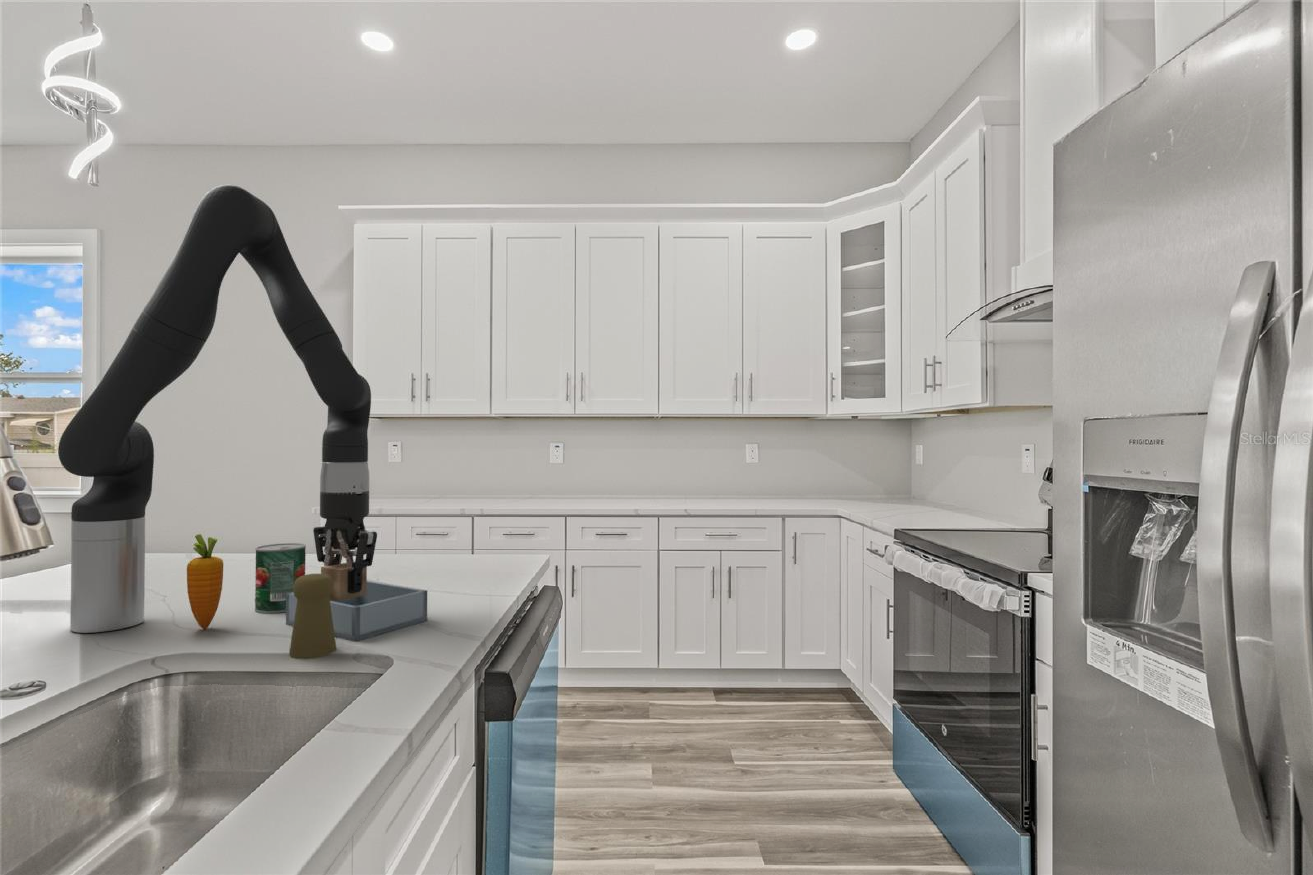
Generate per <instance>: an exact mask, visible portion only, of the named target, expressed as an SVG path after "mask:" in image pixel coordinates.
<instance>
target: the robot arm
mask: <svg viewBox="0 0 1313 875" xmlns="http://www.w3.org/2000/svg"><path fill="white" fill-rule="evenodd" d="M196 206H197V207H196V208H195V211H194V213H193V214H192V218H191V220H190V222H189V225H188V227H187V229H186V231H185V234H184V236H183V239H182V242H181V244H180V245H179V248H178V250H177V252H176V254H175V255H174V258H173V260H172V261H171V263H170V264H169V266H168V267H167V270H166V271H165V273H164V275H163V276H162V278H161V280H160V281H159V284H158V285H157V287H156V288H155V290H154V292H153V294H152V296H151V297H150V299H149V300H148V302H147V303H146V304H145V306H144V307H143V310H142V311H141V313H140V314H139V316H138V318H137V319H136V321H135V323H134V324H133V327H132V328H131V329H130V332H129V333H128V336H127V338H126V340H125V342H124V344H122V346H121V348H120V350H119V351H118V353H117V354H116V356H115V358H114V359H113V361H112V362H111V364H110V365H109V368H108V369H107V370H106V372H105V374H104V375H103V377H102V378H101V380H100V381H99V384H98V385H97V387H96V388H95V389H94V390H93V391H92V393H91V395H90V396H89V397H88V398H87V400H85V402H84V404H83V405H82V406H81V407H80V408H79V410H78V411H77V412H76V414H75V415H74V416H73V418H72V419H71V420H70V422H69V423H68V424H67V426H66V428H65V429H64V431H63V432H62V435H61V436H60V439H59V442H58V448H57V449H58V451H57V453H58V458H59V459H58V460H59V462H60V463H61V464H60V465H61V466H62V467H63V468H64V469H65V470H66V471H67V472H69V473H70V474H72V475H75V476H78V477H85V478H86V477H87V478H93V479H92V486H91V487H90V489H89V490H88V492H86V493H85V494H84V495H83V496H82V497H80V498H77V500H76V501H74V502H73V503H72V506H71V510H70V511H71V512H70V513H71V516H70V519H71V523H70V524H71V531H70V533H71V534H70V535H71V536H70V537H71V542H70V544H71V548H70V552H71V553H70V554H71V555H70V556H71V558H70V562H71V563H70V565H71V566H70V568H71V569H70V617H69V618H70V623H69V624H70V625H69V627H70V631H71V632H73V633H83V634H85V633H86V634H87V633H100V632H101V633H102V632H109V631H116V630H122V629H125V628H126V629H127V628H129V627H133V626H137V625H140V624H141V623H143V622H144V621H145V582H146V581H145V580H146V578H145V577H146V576H145V575H146V573H145V572H146V571H145V570H146V569H145V568H146V561H145V560H146V508H147V505H148V503H149V501H150V499H151V496H152V493H153V492H152V491H153V490H152V489H153V477H154V465H155V464H154V462H155V449H154V441H153V439H152V436H151V434H150V432H149V430H148V429H147V428H146V427H145V426H144V425H143V424H141V423H140V422H139V421H136V420H137V418H138V417H139V415H140V413H142V411H143V409H144V408H145V407H146V406H147V405H148V403H149V402H150V401H151V400H152V399H153V398H155V397H156V396H157V395H158V394H159V393H161V392H162V391H163V390H165V389H166V388H167V387H168V386H169V385H171V383H173V382H175V381H176V380H177V379H178V378H179V377H180V376H182V375H183V374H184V373H185V372H186V371H188V369H190V367H191V366H192V365H193V363H194V362H195V361H196V359H197V358H198V356H199V355H200V353H201V351H202V349H203V347H204V346H205V344H206V342H207V341H208V339H209V337H210V336H211V333H212V330H213V328H214V325H215V322H216V316H217V312H218V311H217V310H218V302H219V296H220V295H219V294H220V291H221V286H222V283H223V280H224V278H225V276H226V274H227V272H228V271H229V269H230V267H231V266H232V264H233V262H234V261H235V260H236V257H237V256H238V254H240V255H241V257H242V258H243V259H244V260H245V261H246V263H248V265H249V266H250V267H251V268H252V270H253V271H254V272H255V274H256V275H257V277H258V278H259V281H260V282H261V283H262V286H263V288H264V289H265V292H266V294H267V297H268V300H269V303H270V305H271V306H270V307H271V308H272V312H273V314H274V316H275V318H276V321H277V323H278V325H279V328H280V329H281V332H282V333H283V334H284V336H285V338H286V340H287V341H288V342H289V344H290V347H292V349H293V351H295V354H296V356H297V357H298V358H299V359H300V360H301V362H302V363H303V364H302V365H303V366H304V369H305V371H306V372H307V375H308V377H309V379H310V381H311V383H312V385H313V387H314V389H315V392H317V393H316V394H317V395H318V397H320V400H321V401H322V402H323V404H325V405H326V406H327V425H326V429H325V430H324V432H323V434H322V442H321V445H322V446H321V468H320V469H321V470H320V475H319V476H320V477H319V479H320V480H319V484H320V485H319V516H320V517H321V518H322V519H324V520H325V523H324V525H323V526H318V527H317V526H316V527H314V528H313V529H312V530H313V531H312V532H313V538H314V544H315V552H316V559H317V561H318V563H323V567H324V566H330V565H336V564H342V561H343V559H345V561H346V562H345V563H347V567H348V570H349V571H348V593H356V592H360V591H361V589H362V570H363V568H365V567H367V568H368V567H371V566H372V565H373V560H374V555H375V551H376V544H377V539H378V534H377V531H374V530H373V531H368V530H367V529H366V527H365V526H366V525H365V524H364V523H365V522H364V519H365V518H366V517H368V516H369V514H370V469H369V439H368V432H369V431H368V429H369V422H370V415H371V408H372V407H371V406H372V391H371V386H370V384H369V382H368V380H367V379H366V378H365V377H364V376H362V375H361V374H359V373H358V371H357V370H356V369H355V366H353V364H352V362H351V361H350V359H349V357H348V356H347V354H346V353H345V351H344V350H343V344H342V342H341V339H340V337H339V336H338V334H337V332H336V331H335V329H334V327H333V326H332V323H331V322H330V321H329V319H328V318H327V316H326V313H325V312H324V311H323V309H322V308H321V306H320V305H319V302H318V301H317V299H316V298H315V296H314V295H313V293H312V291H311V290H310V288H309V286H308V285H307V282H305V279H304V278H303V276H302V274H301V272H300V270H299V268H298V267H297V264H296V261H295V260H294V257H293V255H292V252H291V251H290V248H289V247H288V243H287V242H286V239H285V237H284V234H283V231H282V229H281V227H280V224H279V222H278V219H277V216H276V215H275V213H274V211H273V210H272V208H271V207H270V206H269V205H268V204H266V202H264V201H263V200H262V199H260V198H258V196H255V195H254V194H252V193H251V192H250V191H248V190H247V189H245V188H242V187H240V186H237V185H234V184H221V185H218V186H215V187H213V188H211V189H209V191H207V192H206V193H205V194H204V195H203V197H202V198H201V200H200V201H199V203H198V204H197V205H196ZM365 555H366V556H365ZM354 557H355V560H354Z"/></svg>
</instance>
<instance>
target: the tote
mask: <svg viewBox="0 0 1313 875" xmlns="http://www.w3.org/2000/svg"><path fill="white" fill-rule="evenodd" d="M296 605H297V598H296V597H295V596H294V593H293V592H292V593H287V594H286V612H285V625H287V624H288V625H287V626H291V627H293V625H294V618H295V612H296ZM330 605H331V613H332V620H333V627H334V635H335V638H336V637H337V638H341V639H344V640H348V641H352V642H357V641H360V640H361V641H362V640H364V639H368V638H371V637H375V636H379V635H382V634H385V633H389V632H392V631H395V630H398V629H399V630H400V629H403V628H407V627H409V626H410V627H411V626H413V625H416V624H420V623H423V622H427V621H428V590H427V589H426V590H425V589H420V588H414V587H408V586H402V585H397V584H391V583H385V582H379V581H373V580H368V579H367V594H366V595H364V596H359V597H355V598H350V599H346V600H342V601H338V600H333V599H330Z"/></svg>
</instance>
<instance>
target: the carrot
mask: <svg viewBox="0 0 1313 875" xmlns="http://www.w3.org/2000/svg"><path fill="white" fill-rule="evenodd" d="M194 537H195V539H196V541H197V542H196V543H193V545H194V547H192V548H193V550H194V551H195V552H196V553H197V554H198V555H199V556H200V557H195V558H192V559H191V560H190V561H189V562H188V563H187V565H186V584H187V586H186V588H187V595H188V602H189V606H190V610H191V612H192V615H193V618H194V619H195V621H196V622H197V624H198V626H199V627H200V628H201V629H203V630H206V629H208V627H209V626H211V623H212V621H213V620H214V617H215V615H216V612H217V610H218V608H219V605H220V599H221V595H222V590H223V582H224V581H223V580H224V561H223V558H220V557H219V556H212V554H213V551H214V548H215V546H216V544H217V543H218V542H217V541H218V538H215V537H214V538H213V537H207V543H208V547H207V543H206V541H205V539H204V538H203V536H202V534H201V533H200V534H196V535H195V536H194Z"/></svg>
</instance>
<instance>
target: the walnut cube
mask: <svg viewBox="0 0 1313 875" xmlns="http://www.w3.org/2000/svg"><path fill="white" fill-rule="evenodd" d="M367 570H368V566H367V567H365V568H363V570H362V589H361V591H360V592H356V593H348V571H349V570H348V567H347V562H344V563H343V562H341V564H336V565H330V566H324V565H323V566H321V567H320V574H327V575H329V576H330V577H331V578H332V579H333V582H334V588H333V592H332V593H331V595H330V596H329V598H330V599H333V600H338V601H342V600H346V599H350V598H355V597H359V596H364V595H366V594H367V580H368V579H367V573H368V572H367Z"/></svg>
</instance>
